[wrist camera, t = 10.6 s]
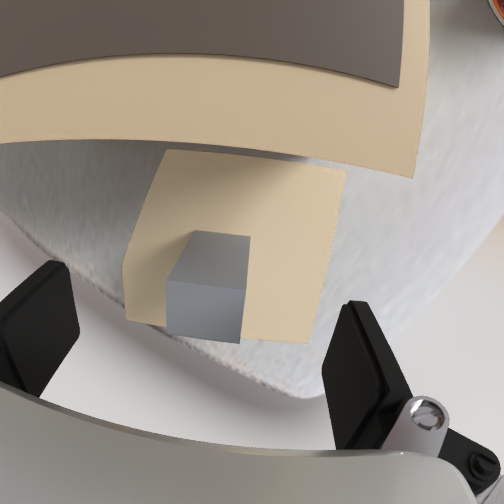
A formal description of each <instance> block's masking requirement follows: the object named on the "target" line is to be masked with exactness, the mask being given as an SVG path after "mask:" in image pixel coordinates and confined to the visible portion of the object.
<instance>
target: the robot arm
mask: <svg viewBox="0 0 504 504" xmlns="http://www.w3.org/2000/svg"><path fill="white" fill-rule="evenodd" d="M79 334H80V327H79V323H78V318H77V313H76V309H75V303H74V297H73V291H72V285H71V279H70V272H69V269H68V268H67V267H66V265H65V263H63V262H59V261H54V260H49V261H47V262H46V263H45V264H44V265H42V266H41V267H40V268H39V269H37V270H36V271H35V272H34V273H33V274H31V275H30V276H29V277H28V278H27V279H26V280H24V281H23V282H22V283H21V284H20V285H19V286H18V287H16V288H15V289H14V290H13V291H12V292H11V293H10V294H9V295H8V296H6V297H5V298H4V299H3V300H2V301H1V302H0V504H504V475H502V476H501V475H500V470H501V468H500V463H499V460H498V458H497V456H496V455H495V454H494V453H493V452H492V451H490V450H489V449H487V448H485V447H483V446H482V445H479V444H478V443H476V442H474V441H472V440H470V439H468V438H466V437H465V436H463V435H461V434H459V433H457V432H455V431H454V430H452V429H450V428H448V426H449V415H448V412H447V410H446V409H445V407H444V406H443V405H442V404H441V403H440V402H438V401H436V400H435V399H433V398H430V397H427V396H417V397H413V395H412V393H411V391H410V389H409V386H408V384H407V382H406V380H405V377H404V375H403V373H402V371H401V369H400V367H399V364H398V362H397V360H396V358H395V356H394V354H393V352H392V350H391V348H390V346H389V344H388V342H387V340H386V338H385V336H384V334H383V332H382V330H381V328H380V326H379V324H378V322H377V320H376V318H375V316H374V314H373V312H372V310H371V309H370V307H369V305H368V303H367V302H364V301H352V300H350V301H349V302H348V304H344V305H343V306H342V308H341V311H340V314H339V317H338V320H337V324H336V327H335V330H334V333H333V336H332V339H331V342H330V345H329V348H328V350H327V353H326V356H325V359H324V362H323V365H322V378H323V383H324V388H325V393H326V398H327V403H328V408H329V414H330V419H331V424H332V429H333V435H334V441H335V446H336V450H289V449H267V448H253V447H242V446H232V445H222V444H215V443H208V442H201V441H195V440H188V439H183V438H177V437H172V436H166V435H161V434H157V433H152V432H147V431H143V430H139V429H134V428H131V427H126V426H123V425H119V424H115V423H111V422H108V421H105V420H101V419H98V418H94V417H91V416H88V415H85V414H82V413H79V412H76V411H73V410H70V409H67V408H64V407H61V406H59V405H56V404H53V403H51V402H48V401H45V400H43V399H40V398H39V397H40V395H41V394H42V392H43V390H44V389H45V387H46V386H47V384H48V383H49V381H50V379H51V378H52V376H53V375H54V373H55V372H56V370H57V369H58V367H59V365H60V364H61V363H62V361H63V360H64V358H65V357H66V355H67V354H68V352H69V351H70V349H71V348H72V346H73V345H74V344H75V342H76V341H77V339H78V337H79Z"/></svg>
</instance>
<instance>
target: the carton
mask: <svg viewBox="0 0 504 504" xmlns="http://www.w3.org/2000/svg"><path fill="white" fill-rule="evenodd" d="M429 42H430V0H0V144H1V143H13V142H26V141H43V140H69V139H127V140H154V141H173V142H187V143H200V144H212V145H222V146H232V147H241V148H249V149H257V150H265V151H272V152H279V153H286V154H293V155H299V156H305V157H311V158H317V159H323V160H328V161H334V162H339V163H344V164H349V165H354V166H359V167H364V168H369V169H373V170H378V171H382V172H387V173H391V174H395V175H399V176H403V177H407V178H411V179H413V176H414V171H415V165H416V160H417V154H418V148H419V142H420V136H421V129H422V122H423V115H424V107H425V98H426V88H427V76H428V62H429Z"/></svg>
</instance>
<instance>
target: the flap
mask: <svg viewBox="0 0 504 504" xmlns="http://www.w3.org/2000/svg"><path fill="white" fill-rule="evenodd" d="M345 176H346V170H340V169H335V168H329V167H323V166H317V165H311V164H304V163H298V162H291V161H284V160H277V159H269V158H261V157H253V156H244V155H235V154H225V153H214V152H203V151H190V150H175V149H166V151H165V154H164V156H163V158H162V160H161V163H160V165H159V167H158V170H157V172H156V174H155V177H154V179H153V181H152V184H151V186H150V189H149V191H148V194H147V196H146V199H145V201H144V204H143V206H142V209H141V212H140V214H139V217H138V219H137V222H136V225H135V228H134V230H133V233H132V236H131V239H130V242H129V245H128V247H127V250H126V253H125V256H124V259H123V262H122V279H123V292H124V304H125V313H126V320H129V321H134V322H139V323H145V324H150V325H156V326H162V327H167V334H172V335H178V336H184V337H191V338H198V339H205V340H212V341H220V342H228V343H237V344H239V343H240V337H241V338H250V339H260V340H270V341H281V342H293V343H306V344H308V341H309V338H310V334H311V330H312V327H313V323H314V319H315V315H316V311H317V307H318V303H319V299H320V295H321V291H322V287H323V283H324V279H325V274H326V270H327V266H328V261H329V257H330V252H331V248H332V243H333V238H334V234H335V229H336V224H337V219H338V214H339V209H340V203H341V198H342V193H343V187H344V182H345Z"/></svg>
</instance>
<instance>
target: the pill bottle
mask: <svg viewBox="0 0 504 504" xmlns="http://www.w3.org/2000/svg"><path fill="white" fill-rule="evenodd" d="M488 1H489V4H490V6H491V8H492V10H493V12H494V13H495V15H496V16H497V18H498V19H499V21H500V22H501V23H502V25H503V26H504V0H488Z"/></svg>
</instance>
